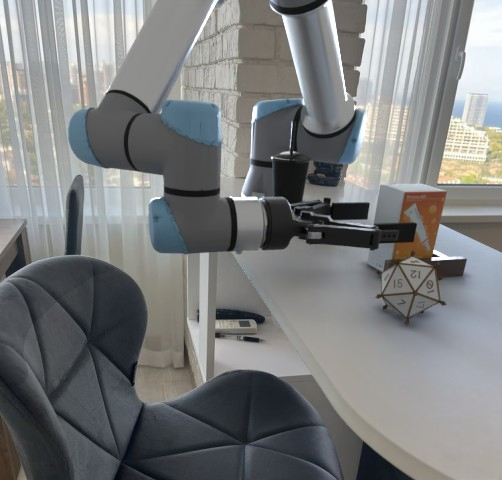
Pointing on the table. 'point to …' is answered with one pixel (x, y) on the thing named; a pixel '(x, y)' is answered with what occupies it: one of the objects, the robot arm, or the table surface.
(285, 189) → the drinking cup
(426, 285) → the game die
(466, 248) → the table surface
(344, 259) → the table surface
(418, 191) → the small box
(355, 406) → the table surface
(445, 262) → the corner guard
